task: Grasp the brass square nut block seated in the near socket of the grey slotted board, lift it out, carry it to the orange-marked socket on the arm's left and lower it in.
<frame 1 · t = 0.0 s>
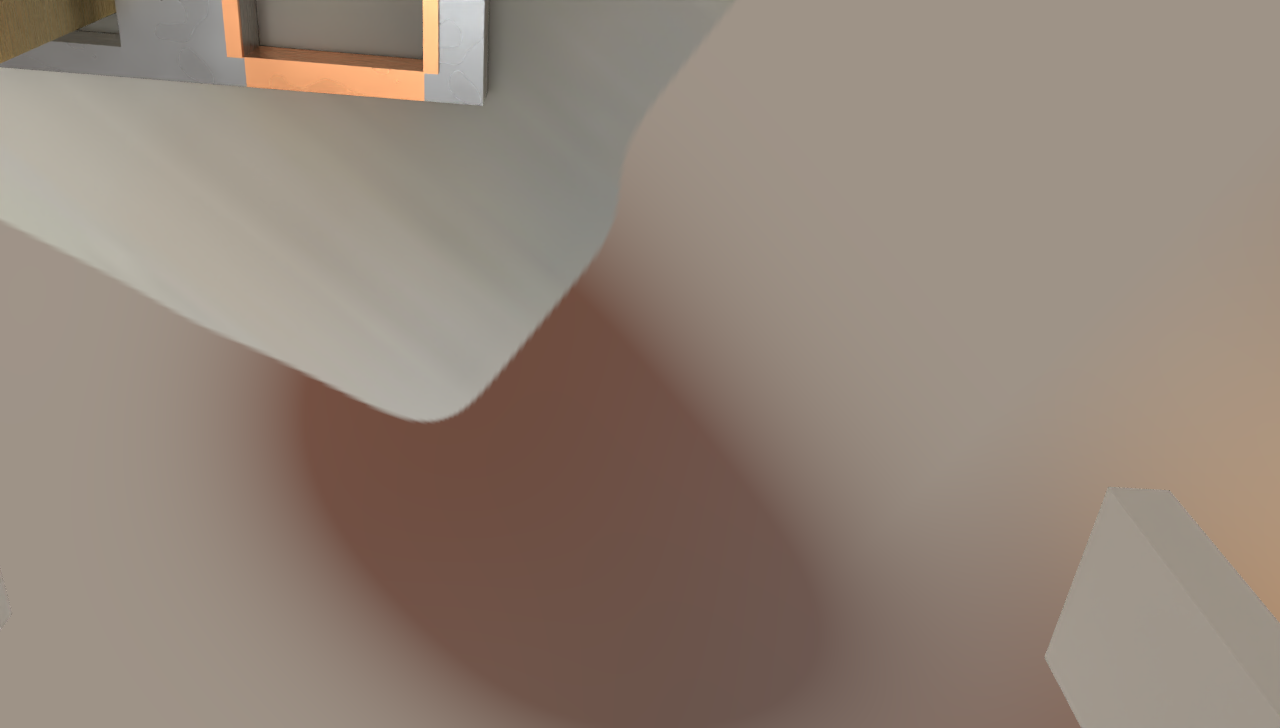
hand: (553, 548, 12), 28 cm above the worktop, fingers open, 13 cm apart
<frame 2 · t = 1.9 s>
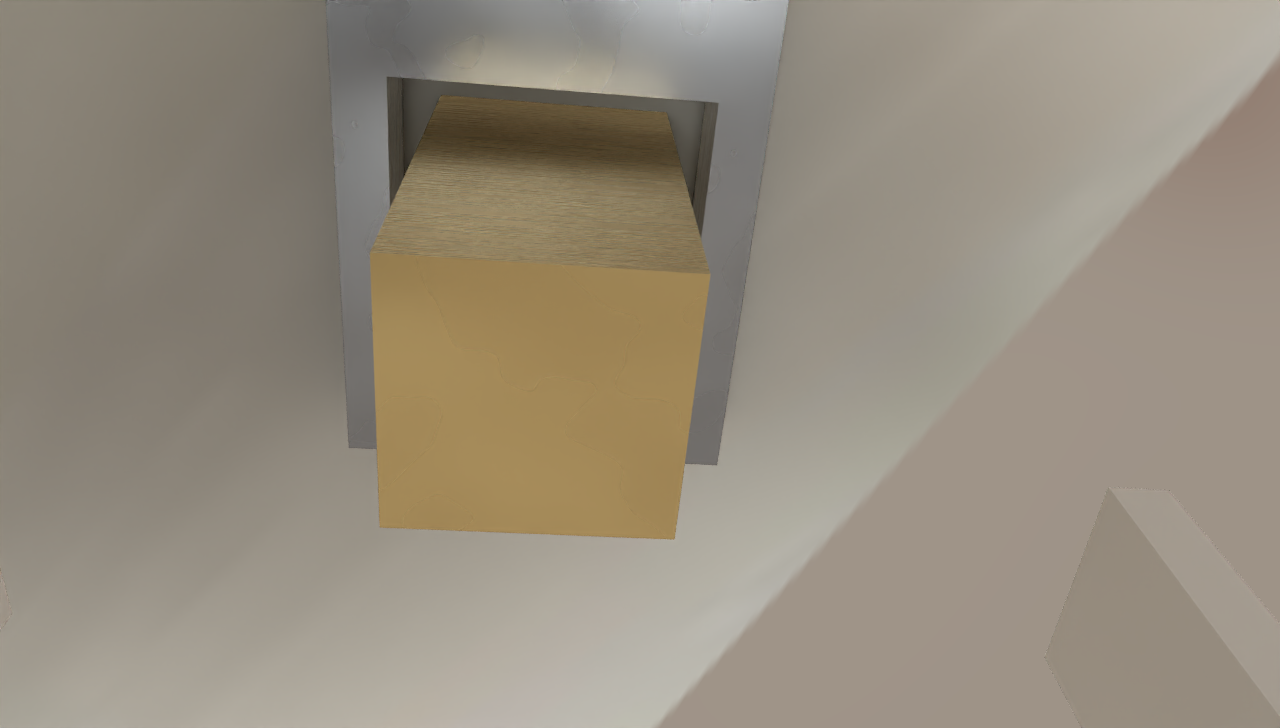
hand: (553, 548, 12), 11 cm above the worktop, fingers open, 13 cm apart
nut block: (549, 209, 22), resting in grey slotted board
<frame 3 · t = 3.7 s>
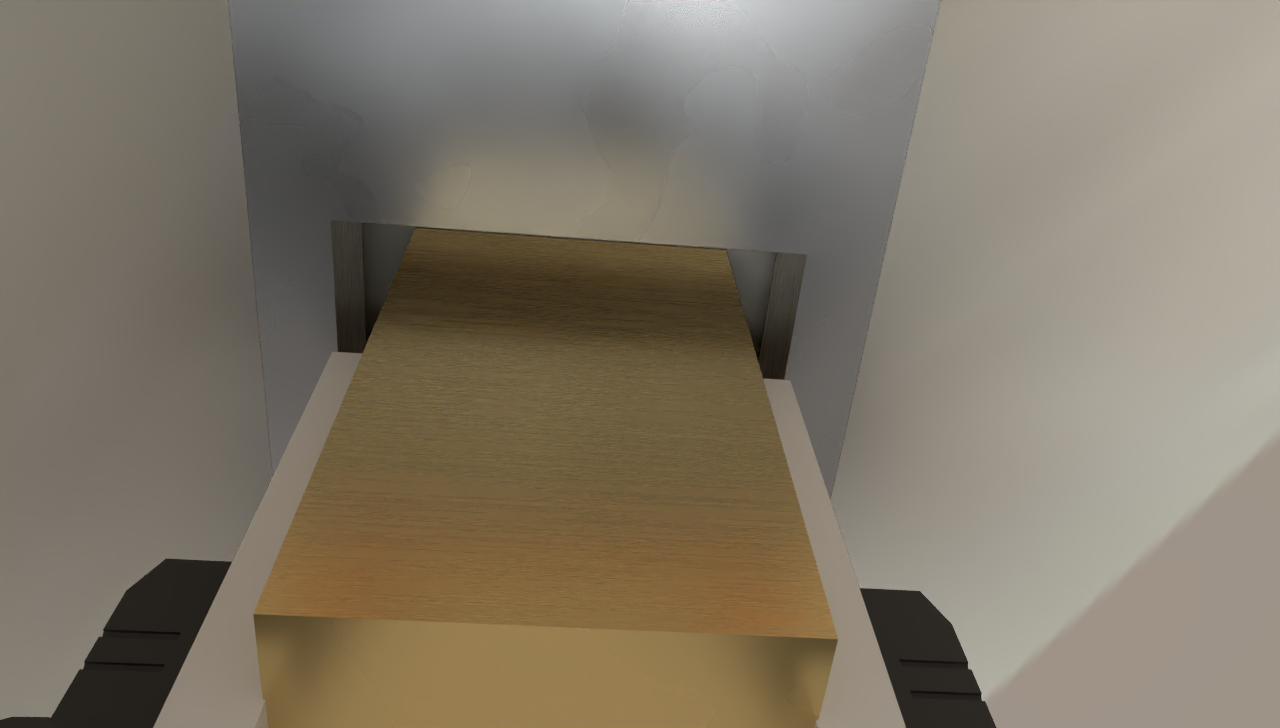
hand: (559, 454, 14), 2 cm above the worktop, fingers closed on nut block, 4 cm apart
nut block: (563, 374, 16), resting in grey slotted board, touching gripper
grey slotted board: (585, 45, 14), on the worktop
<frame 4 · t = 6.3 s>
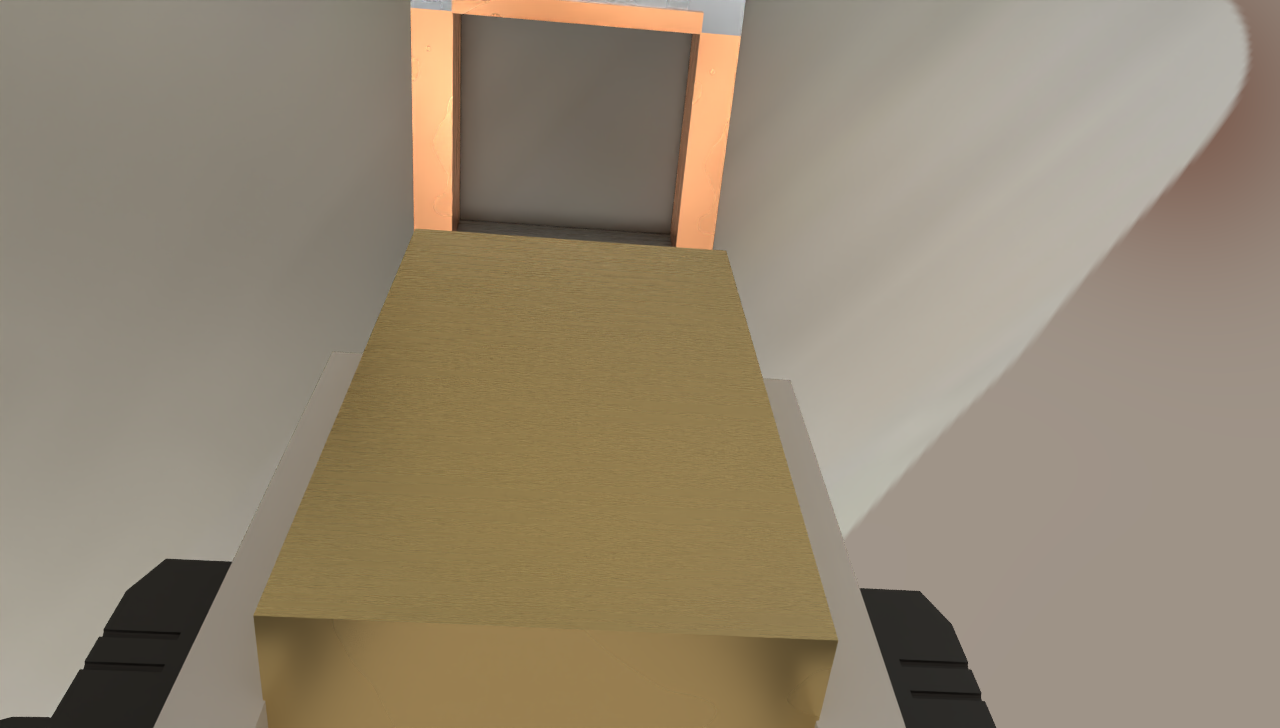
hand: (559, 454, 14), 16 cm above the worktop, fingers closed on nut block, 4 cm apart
nut block: (563, 374, 16), point 14 cm above the worktop, touching gripper
grey slotted board: (561, 291, 30), on the worktop
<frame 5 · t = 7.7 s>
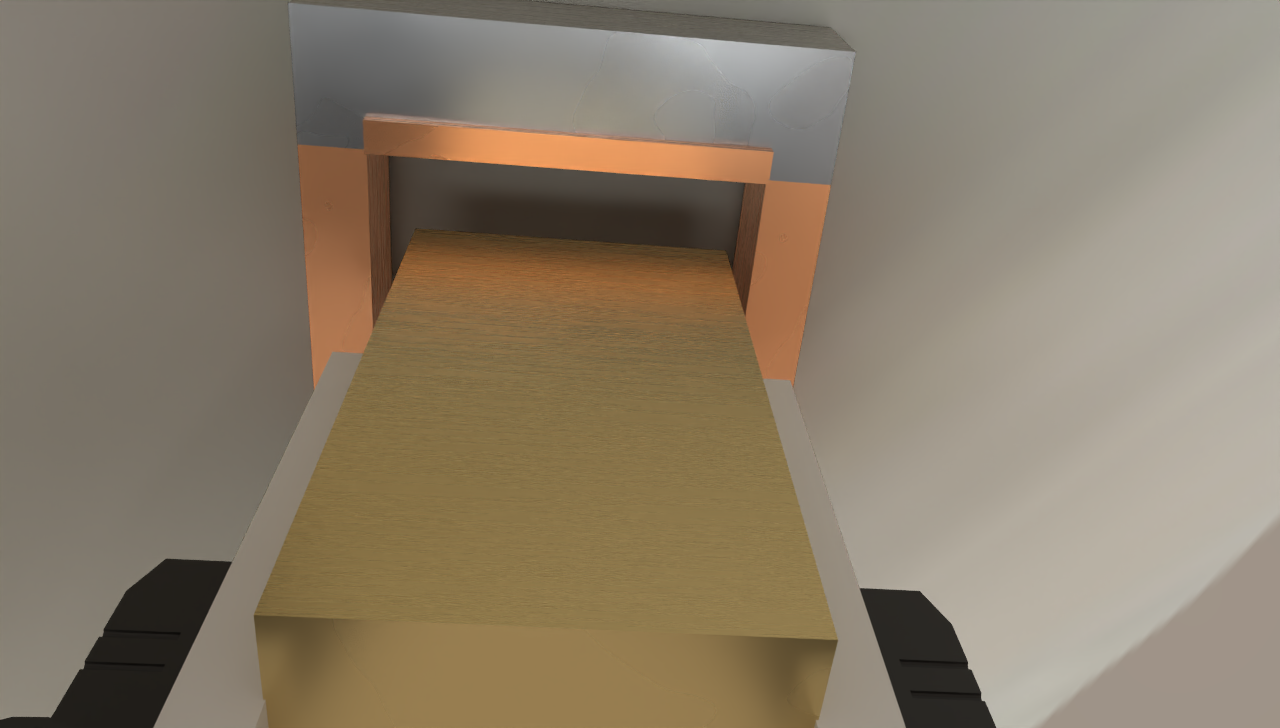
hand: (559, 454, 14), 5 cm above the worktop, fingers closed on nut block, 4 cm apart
nut block: (563, 374, 16), point 3 cm above the worktop, touching gripper
grey slotted board: (547, 519, 21), on the worktop
when the fingers open (3 cm above the worktop, at t = 8.7 s): nut block stays where it is, resting in grey slotted board.
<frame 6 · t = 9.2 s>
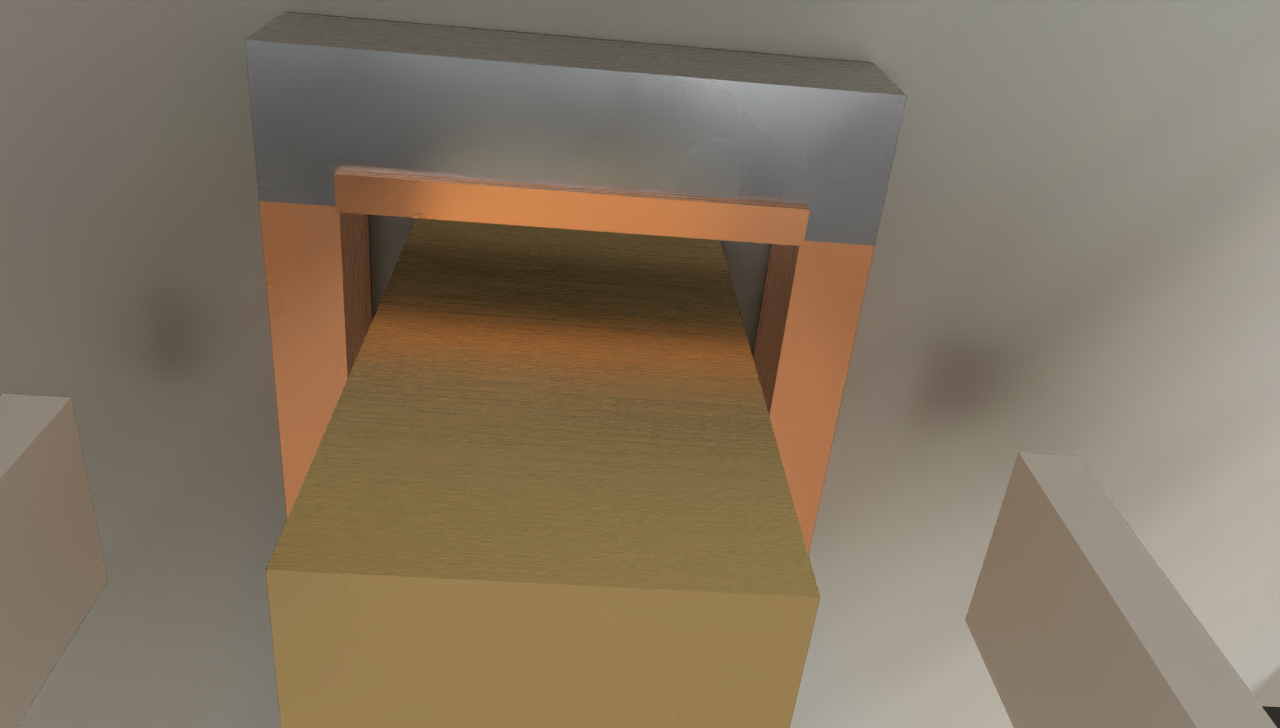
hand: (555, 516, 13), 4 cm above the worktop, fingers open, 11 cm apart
nut block: (561, 358, 16), resting in grey slotted board
grey slotted board: (548, 601, 19), on the worktop
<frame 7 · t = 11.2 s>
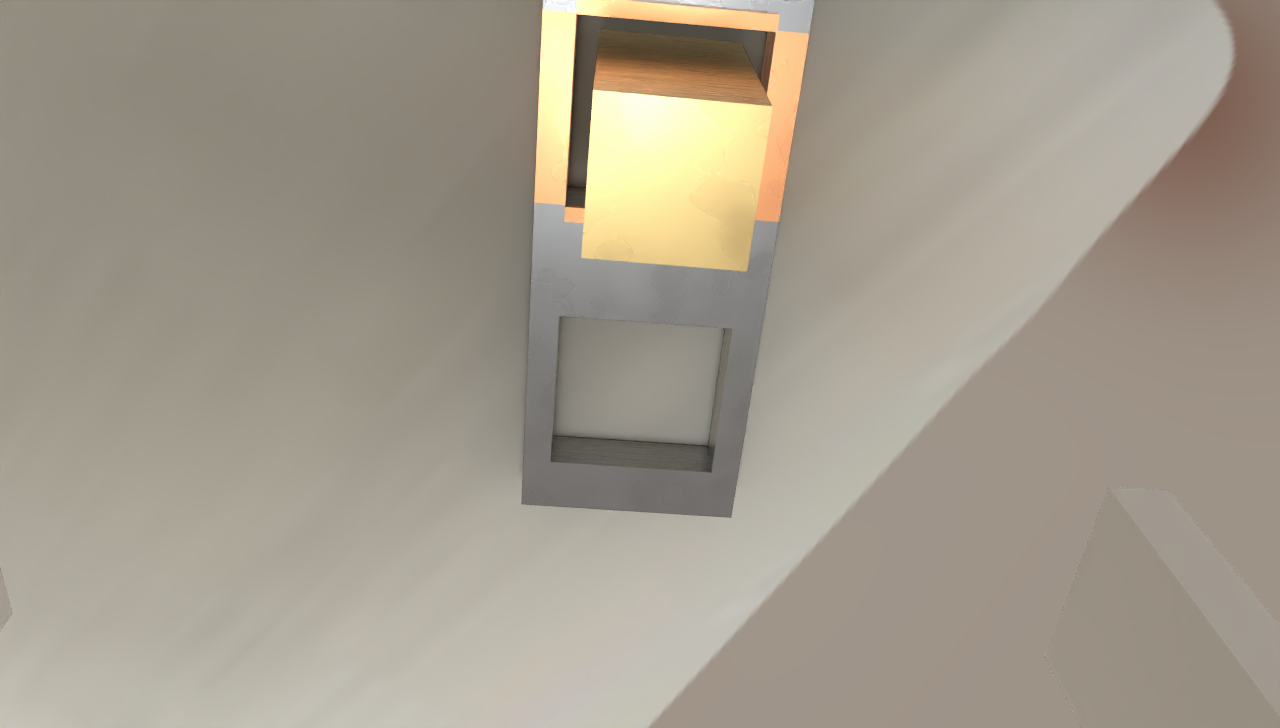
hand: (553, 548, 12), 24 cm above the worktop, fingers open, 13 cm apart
nut block: (663, 106, 34), resting in grey slotted board
grey slotted board: (650, 248, 36), on the worktop
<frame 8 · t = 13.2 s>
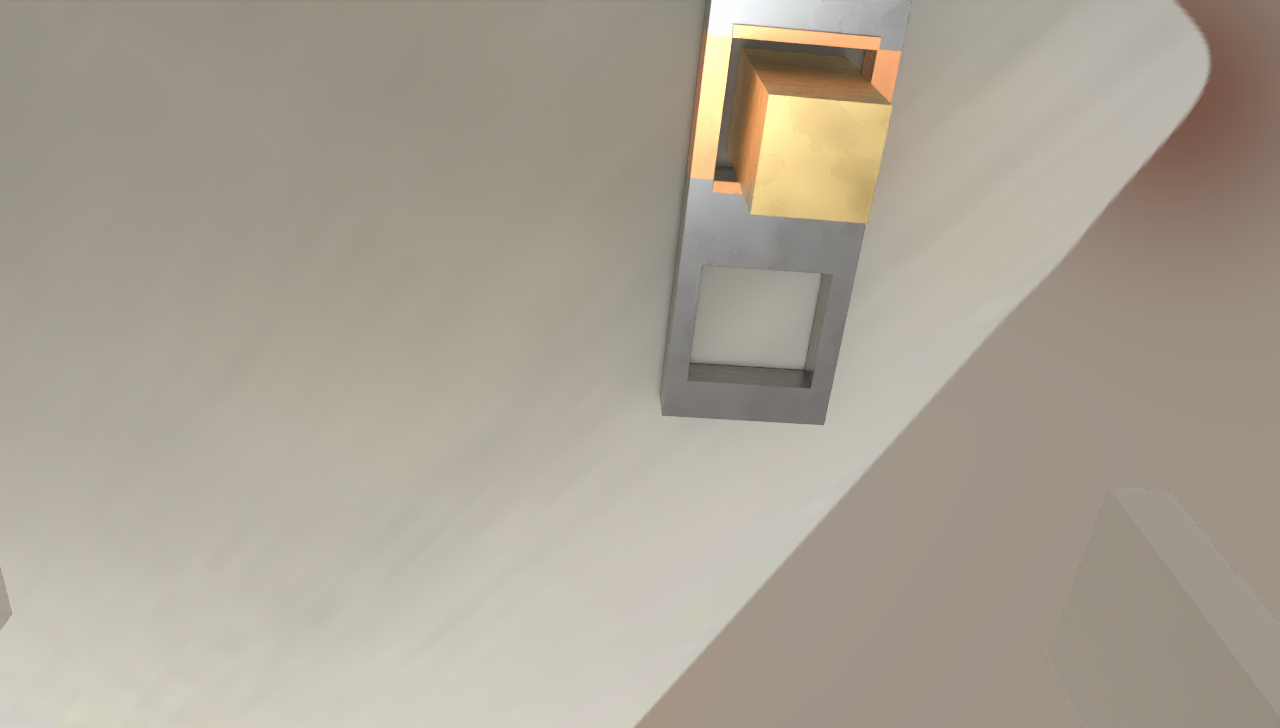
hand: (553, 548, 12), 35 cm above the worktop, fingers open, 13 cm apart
nut block: (784, 104, 45), resting in grey slotted board
grey slotted board: (768, 213, 47), on the worktop
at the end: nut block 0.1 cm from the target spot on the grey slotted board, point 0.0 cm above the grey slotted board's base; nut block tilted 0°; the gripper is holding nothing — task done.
